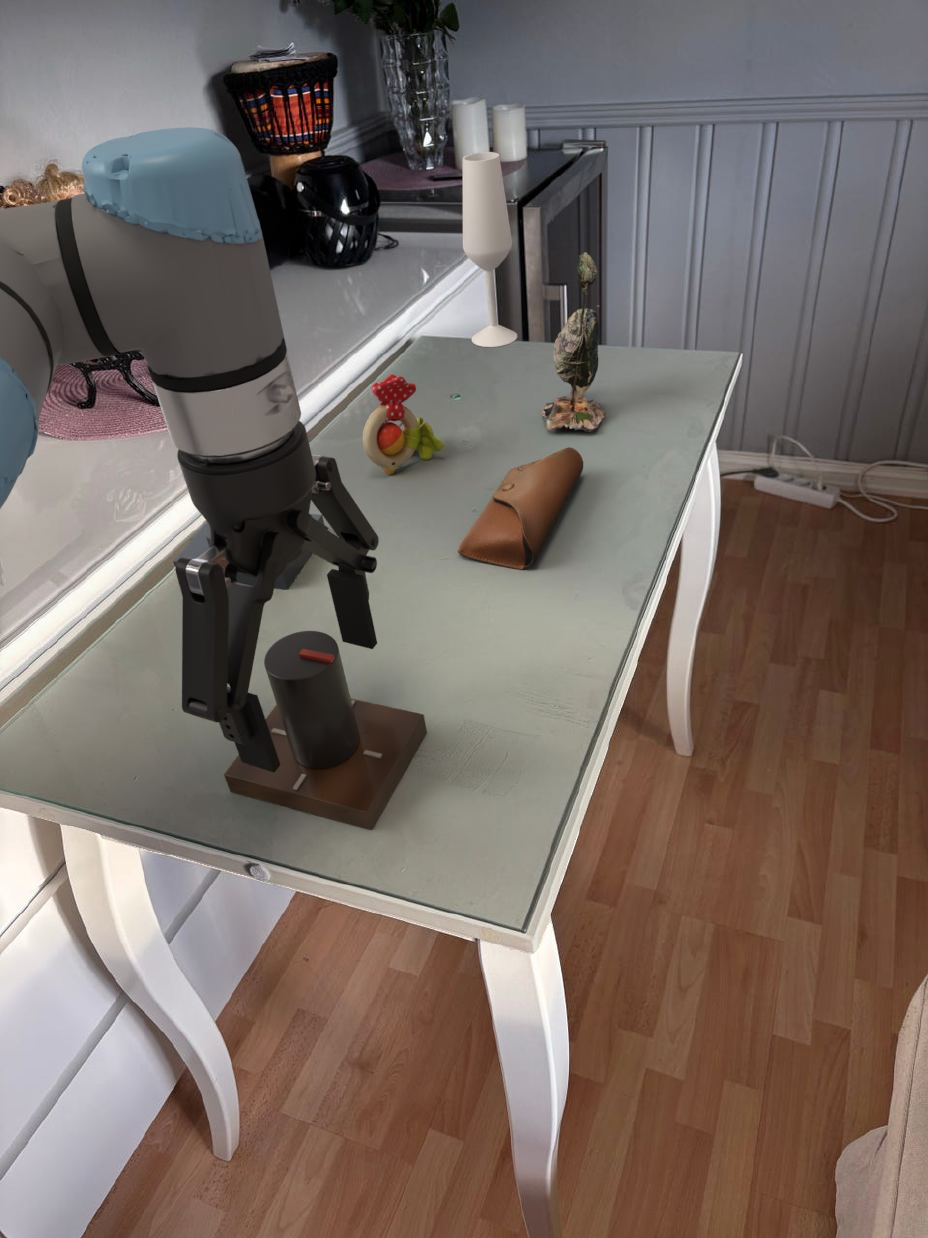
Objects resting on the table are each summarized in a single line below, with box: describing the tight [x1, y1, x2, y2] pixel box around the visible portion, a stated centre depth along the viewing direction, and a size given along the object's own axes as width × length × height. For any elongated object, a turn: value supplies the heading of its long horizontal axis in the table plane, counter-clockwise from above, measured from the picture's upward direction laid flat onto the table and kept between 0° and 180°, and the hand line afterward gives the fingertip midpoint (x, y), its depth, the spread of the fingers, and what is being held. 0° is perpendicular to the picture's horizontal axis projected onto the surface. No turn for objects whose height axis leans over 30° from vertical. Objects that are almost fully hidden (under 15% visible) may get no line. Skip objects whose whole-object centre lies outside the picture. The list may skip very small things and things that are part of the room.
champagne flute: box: [462, 151, 518, 348], centre depth 124 cm, size 7×7×24 cm
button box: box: [172, 513, 325, 590], centre depth 92 cm, size 12×10×4 cm
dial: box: [263, 630, 360, 769], centre depth 66 cm, size 5×5×9 cm
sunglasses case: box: [457, 447, 584, 571], centre depth 93 cm, size 18×7×7 cm, turn 160°
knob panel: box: [223, 698, 428, 831], centre depth 69 cm, size 12×10×2 cm
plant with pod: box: [540, 251, 606, 433], centre depth 104 cm, size 8×11×20 cm
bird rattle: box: [362, 373, 445, 475], centre depth 102 cm, size 6×11×9 cm
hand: (313, 699), depth 66 cm, fingers open, 12 cm apart
